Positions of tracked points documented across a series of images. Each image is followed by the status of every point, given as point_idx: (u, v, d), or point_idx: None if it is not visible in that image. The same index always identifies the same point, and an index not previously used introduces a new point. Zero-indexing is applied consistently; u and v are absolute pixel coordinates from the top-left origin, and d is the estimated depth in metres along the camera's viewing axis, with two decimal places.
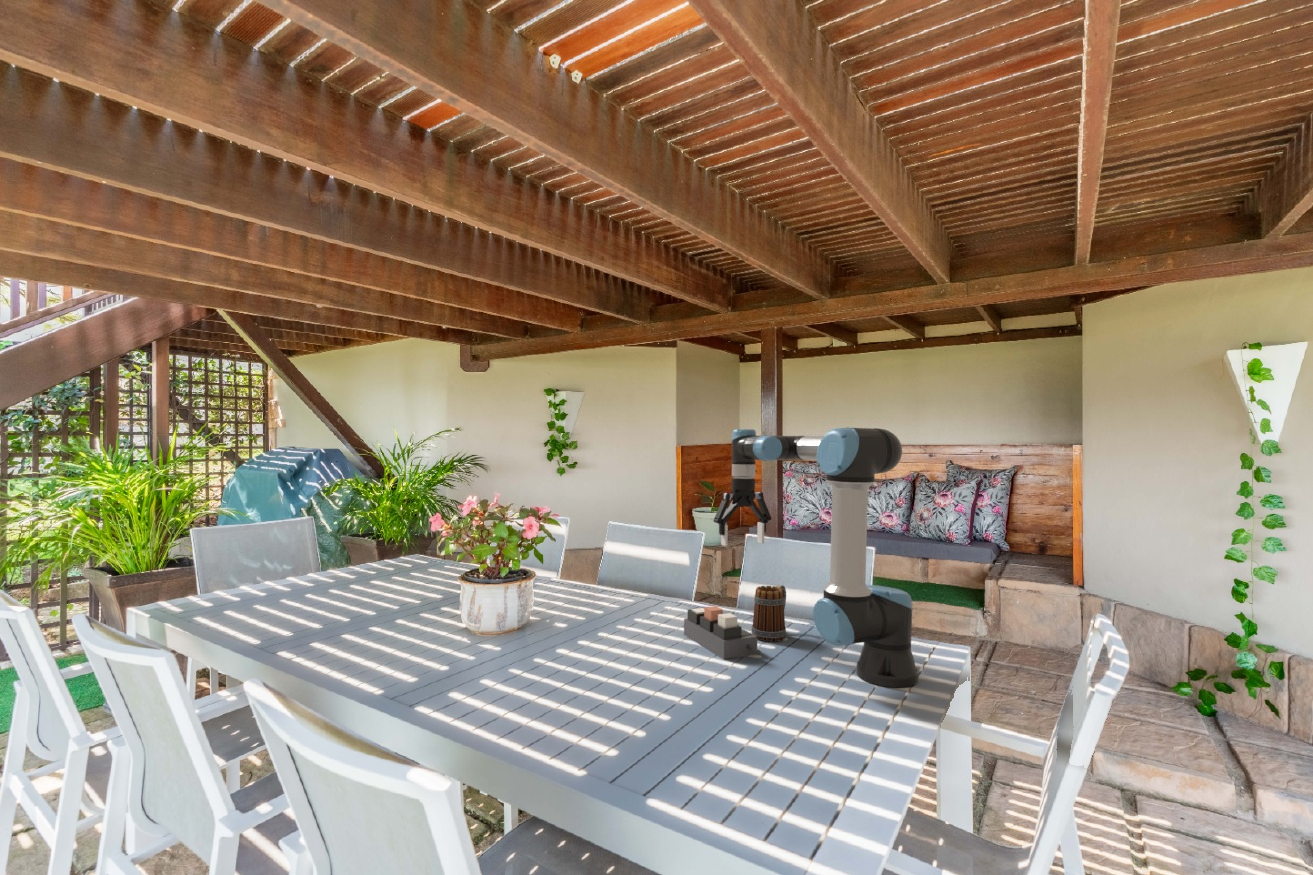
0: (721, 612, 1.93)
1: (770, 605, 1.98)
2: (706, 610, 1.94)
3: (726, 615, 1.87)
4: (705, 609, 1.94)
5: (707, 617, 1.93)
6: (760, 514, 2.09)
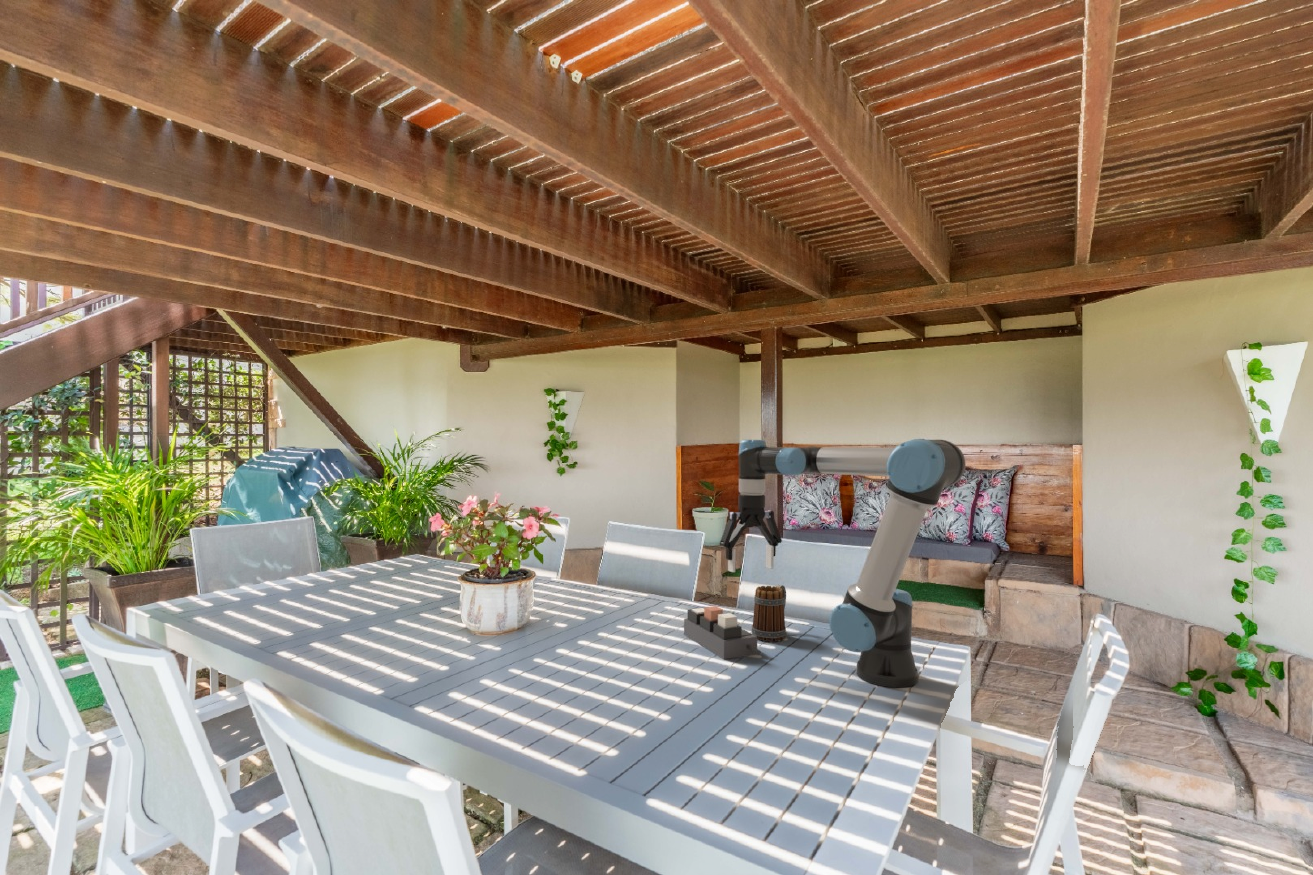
0: (721, 612, 1.93)
1: (770, 605, 1.98)
2: (706, 610, 1.94)
3: (726, 615, 1.87)
4: (705, 609, 1.94)
5: (707, 617, 1.93)
6: (769, 536, 1.87)
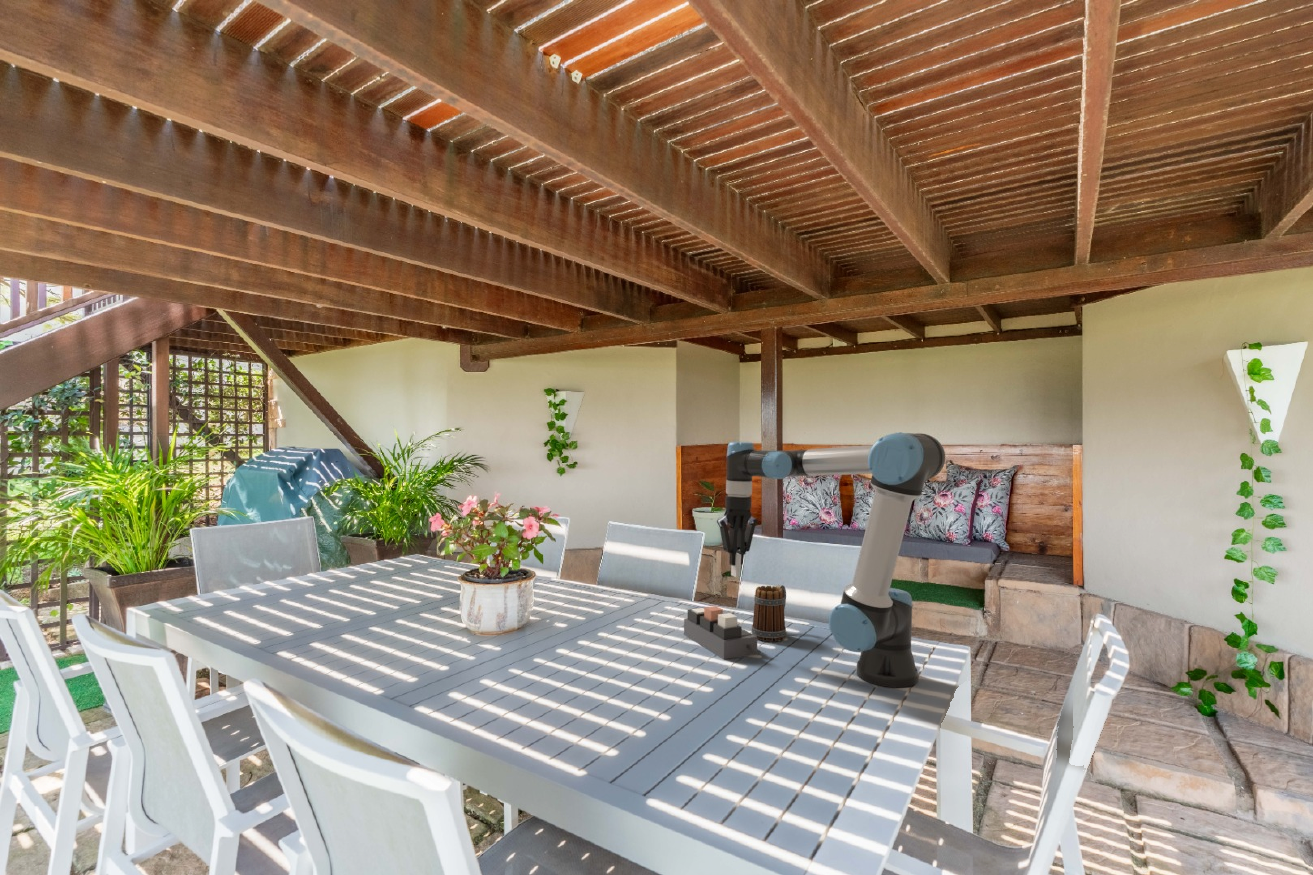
0: (721, 612, 1.93)
1: (770, 605, 1.98)
2: (706, 610, 1.94)
3: (726, 615, 1.87)
4: (705, 609, 1.94)
5: (707, 617, 1.93)
6: (742, 542, 1.89)
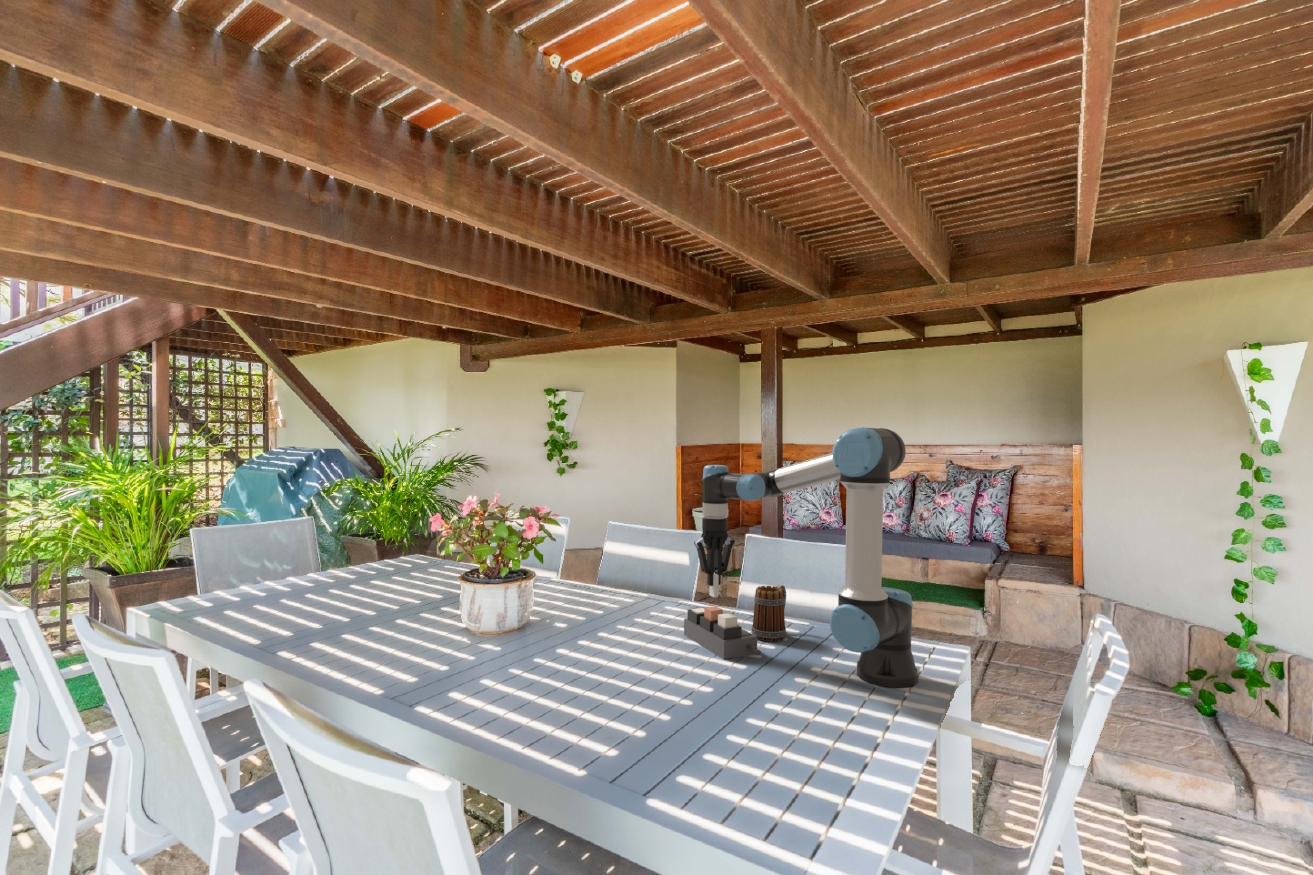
0: (721, 612, 1.93)
1: (770, 605, 1.98)
2: (706, 610, 1.94)
3: (726, 615, 1.87)
4: (705, 609, 1.94)
5: (707, 617, 1.93)
6: (719, 563, 1.93)
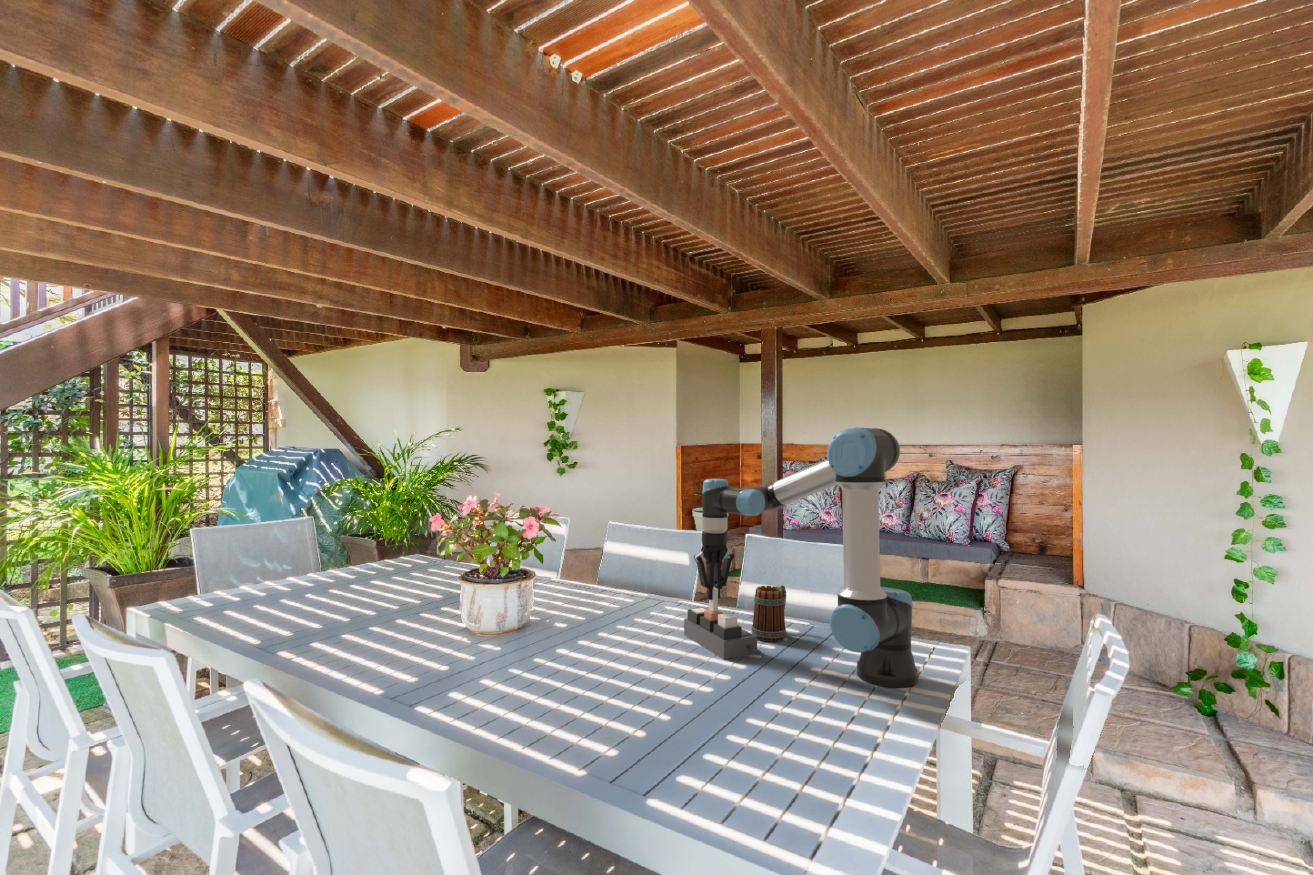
0: None
1: (770, 605, 1.98)
2: (706, 612, 1.94)
3: (726, 615, 1.87)
4: (705, 611, 1.94)
5: None
6: (719, 577, 1.93)
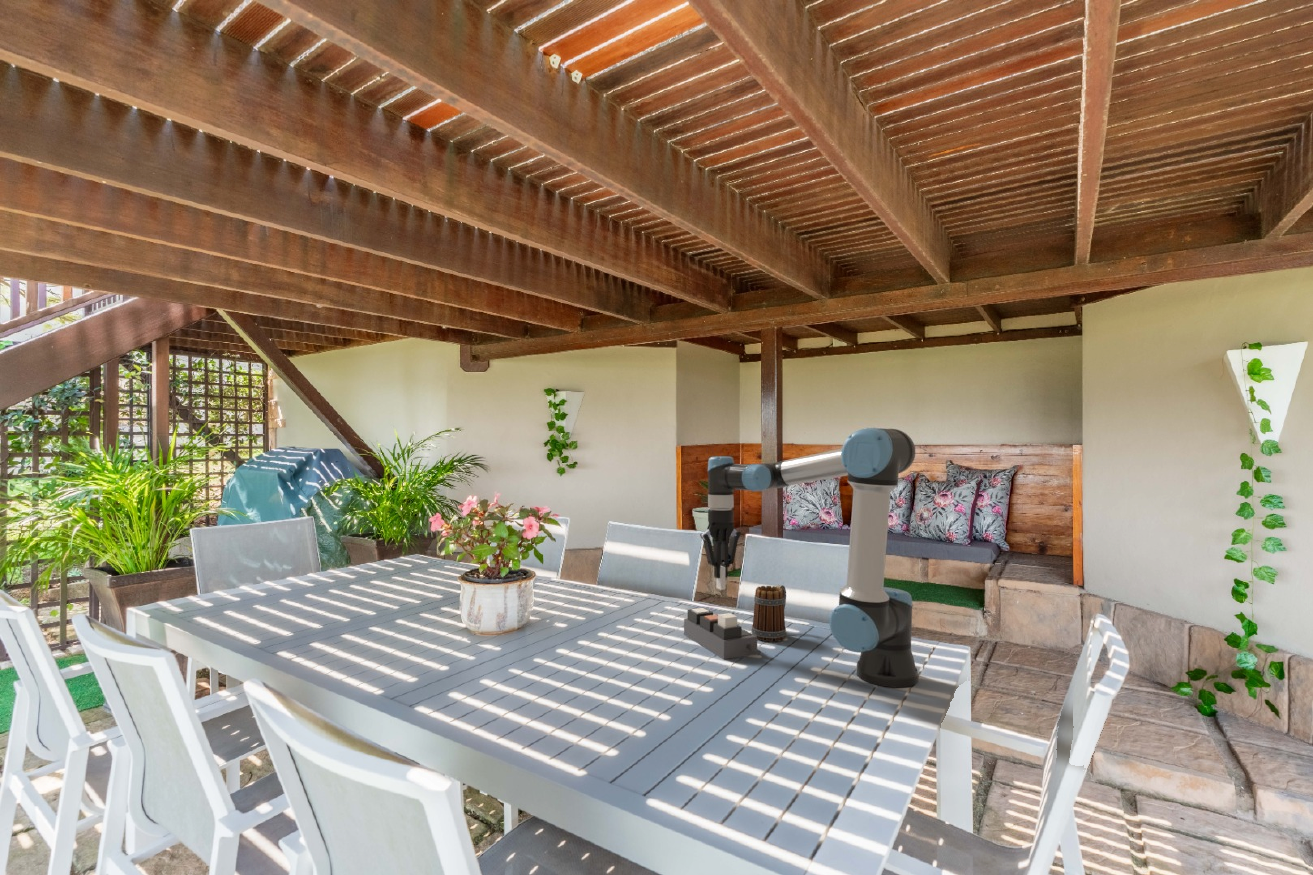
0: None
1: (770, 605, 1.98)
2: (706, 618, 1.94)
3: (726, 615, 1.87)
4: (705, 617, 1.94)
5: None
6: (726, 555, 1.92)
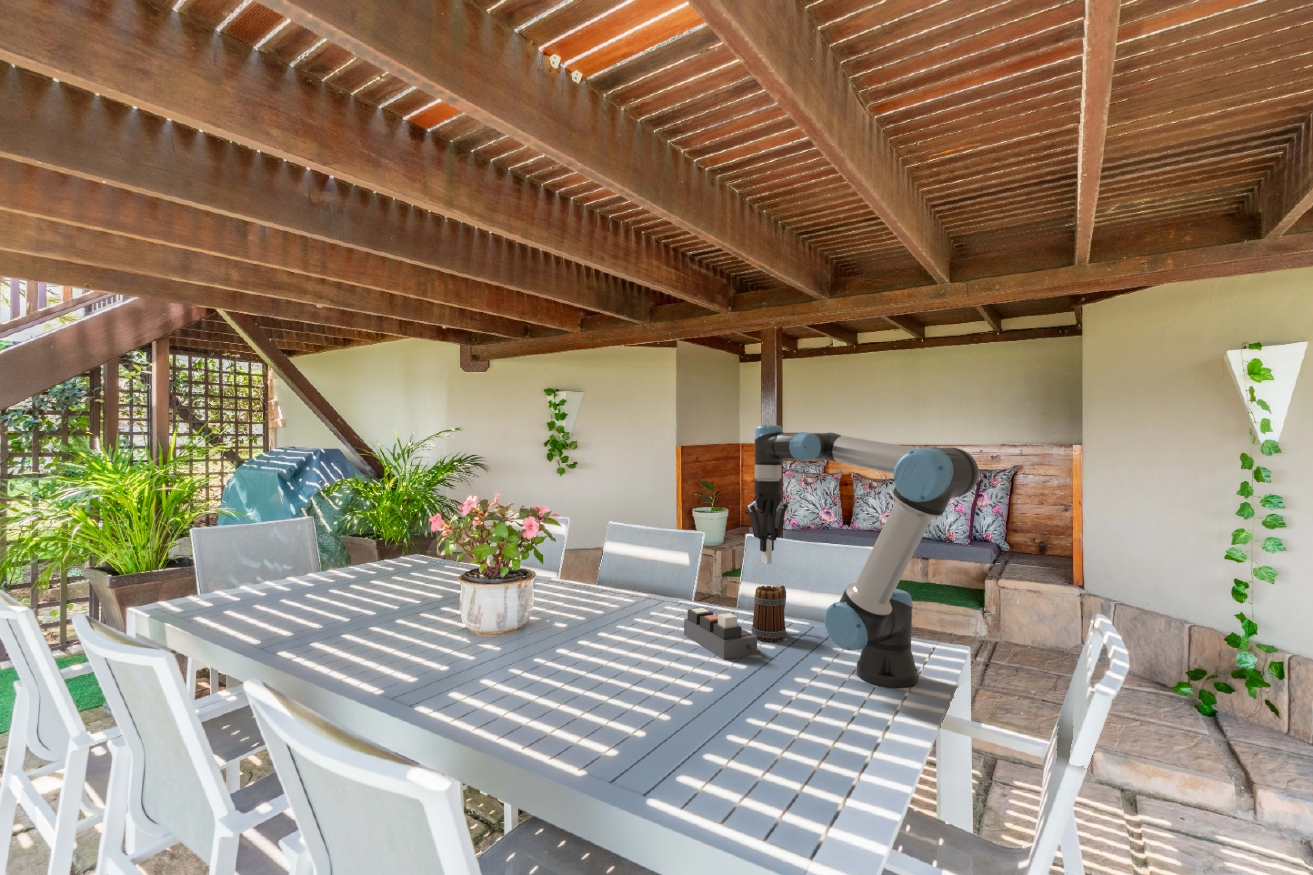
0: None
1: (770, 605, 1.98)
2: (706, 618, 1.94)
3: (726, 615, 1.87)
4: (705, 617, 1.94)
5: None
6: (772, 527, 1.84)
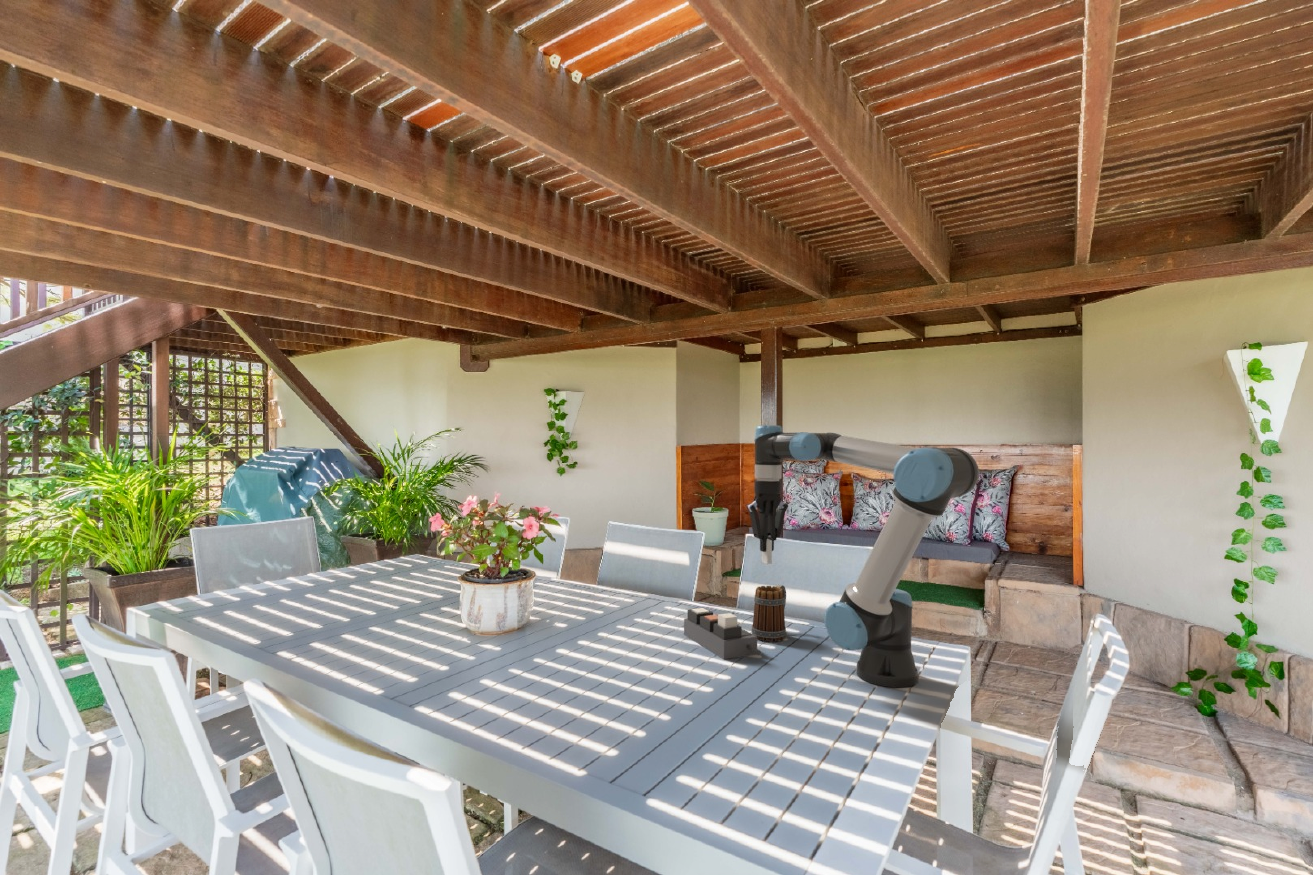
0: None
1: (770, 605, 1.98)
2: (706, 618, 1.94)
3: (726, 615, 1.87)
4: (705, 617, 1.94)
5: None
6: (773, 527, 1.84)
